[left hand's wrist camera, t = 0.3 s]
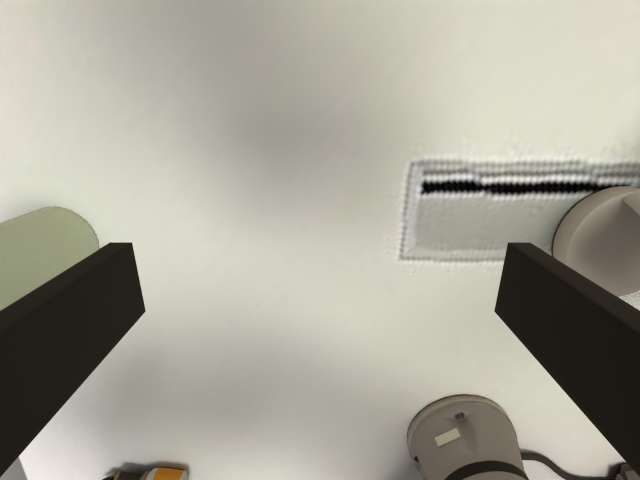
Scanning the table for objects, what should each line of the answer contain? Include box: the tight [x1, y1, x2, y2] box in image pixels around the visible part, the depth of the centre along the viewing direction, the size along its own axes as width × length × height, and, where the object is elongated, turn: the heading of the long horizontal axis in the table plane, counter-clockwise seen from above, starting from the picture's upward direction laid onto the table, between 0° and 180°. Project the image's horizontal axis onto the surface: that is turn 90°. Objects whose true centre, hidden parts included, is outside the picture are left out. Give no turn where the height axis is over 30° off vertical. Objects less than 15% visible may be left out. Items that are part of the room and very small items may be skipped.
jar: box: [0, 207, 99, 311], centre depth 34 cm, size 9×9×17 cm
